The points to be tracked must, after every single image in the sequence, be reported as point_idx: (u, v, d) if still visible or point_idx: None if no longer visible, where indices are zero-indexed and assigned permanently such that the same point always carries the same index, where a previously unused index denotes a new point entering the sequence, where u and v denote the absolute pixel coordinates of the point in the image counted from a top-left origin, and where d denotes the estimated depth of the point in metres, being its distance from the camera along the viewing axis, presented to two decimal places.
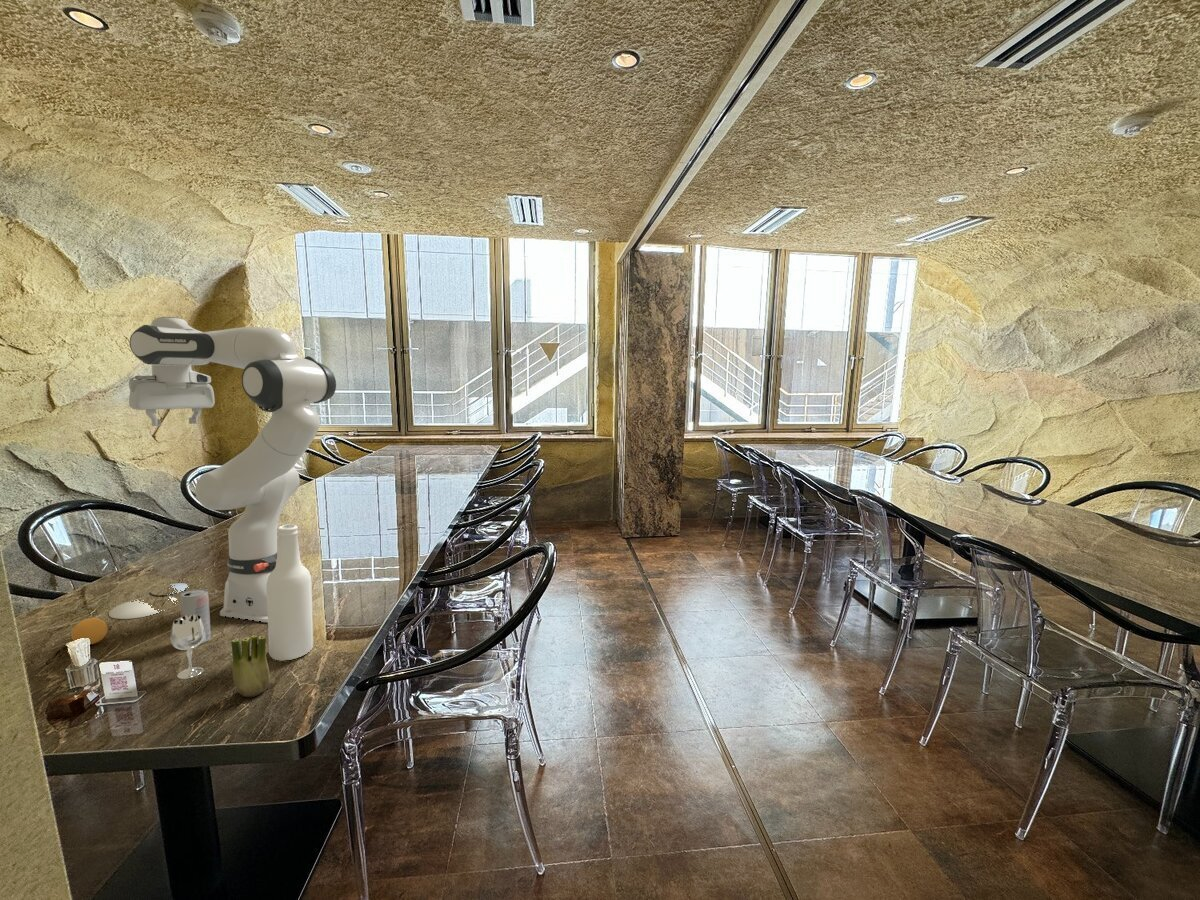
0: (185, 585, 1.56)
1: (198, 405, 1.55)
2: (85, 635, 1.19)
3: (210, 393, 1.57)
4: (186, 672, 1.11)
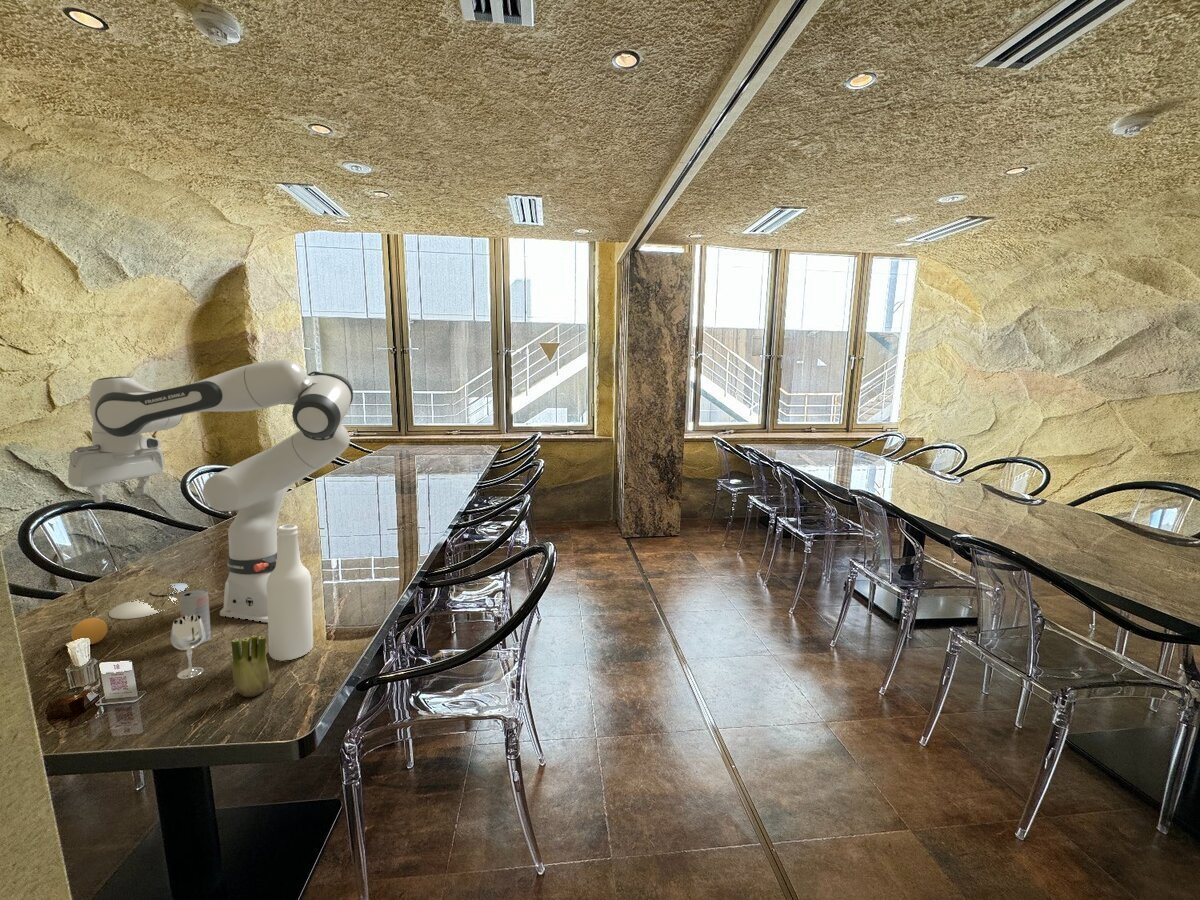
0: (185, 585, 1.56)
1: (147, 473, 1.36)
2: (85, 635, 1.19)
3: (160, 458, 1.38)
4: (186, 672, 1.11)
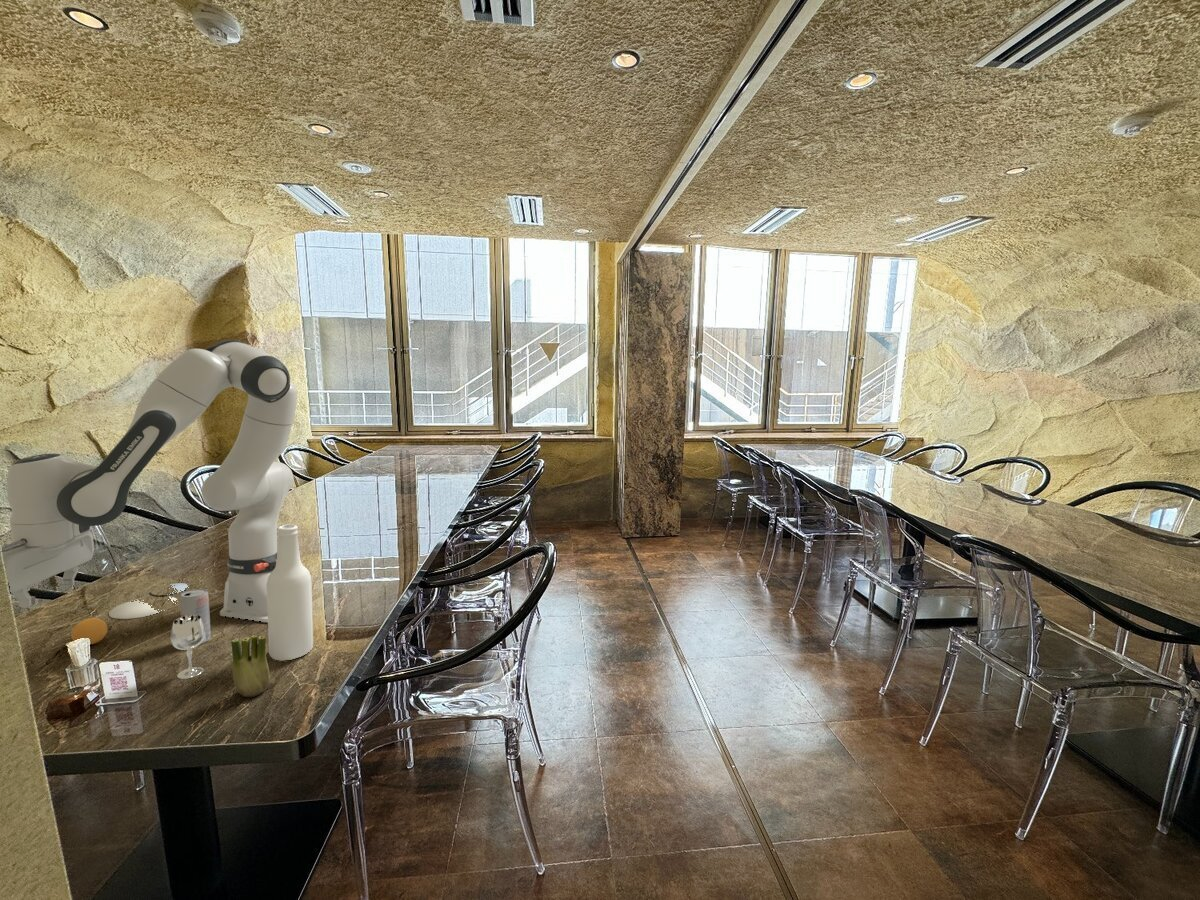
0: (185, 585, 1.56)
1: (77, 562, 1.15)
2: (85, 635, 1.19)
3: (90, 542, 1.18)
4: (186, 672, 1.11)
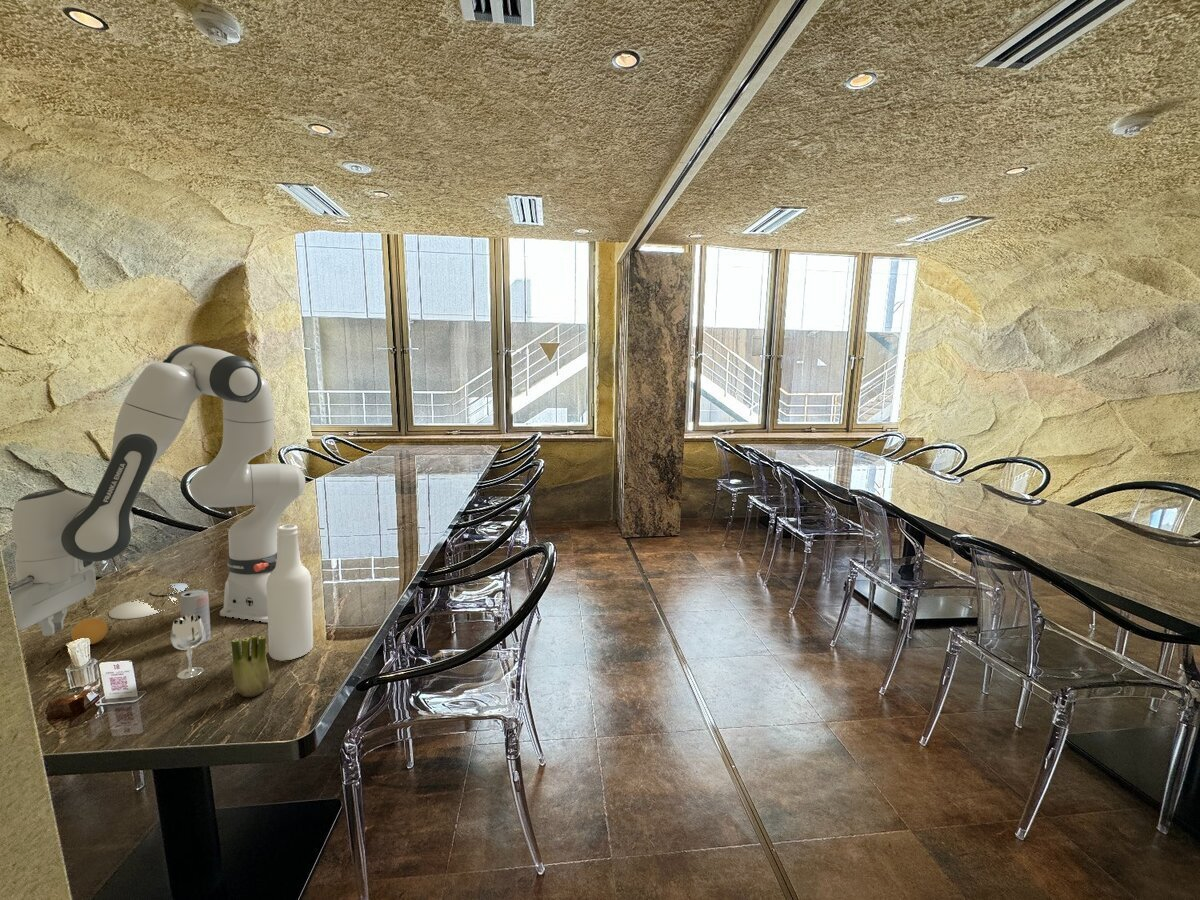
0: (185, 585, 1.56)
1: (80, 597, 1.15)
2: (85, 635, 1.19)
3: (92, 576, 1.18)
4: (186, 672, 1.11)
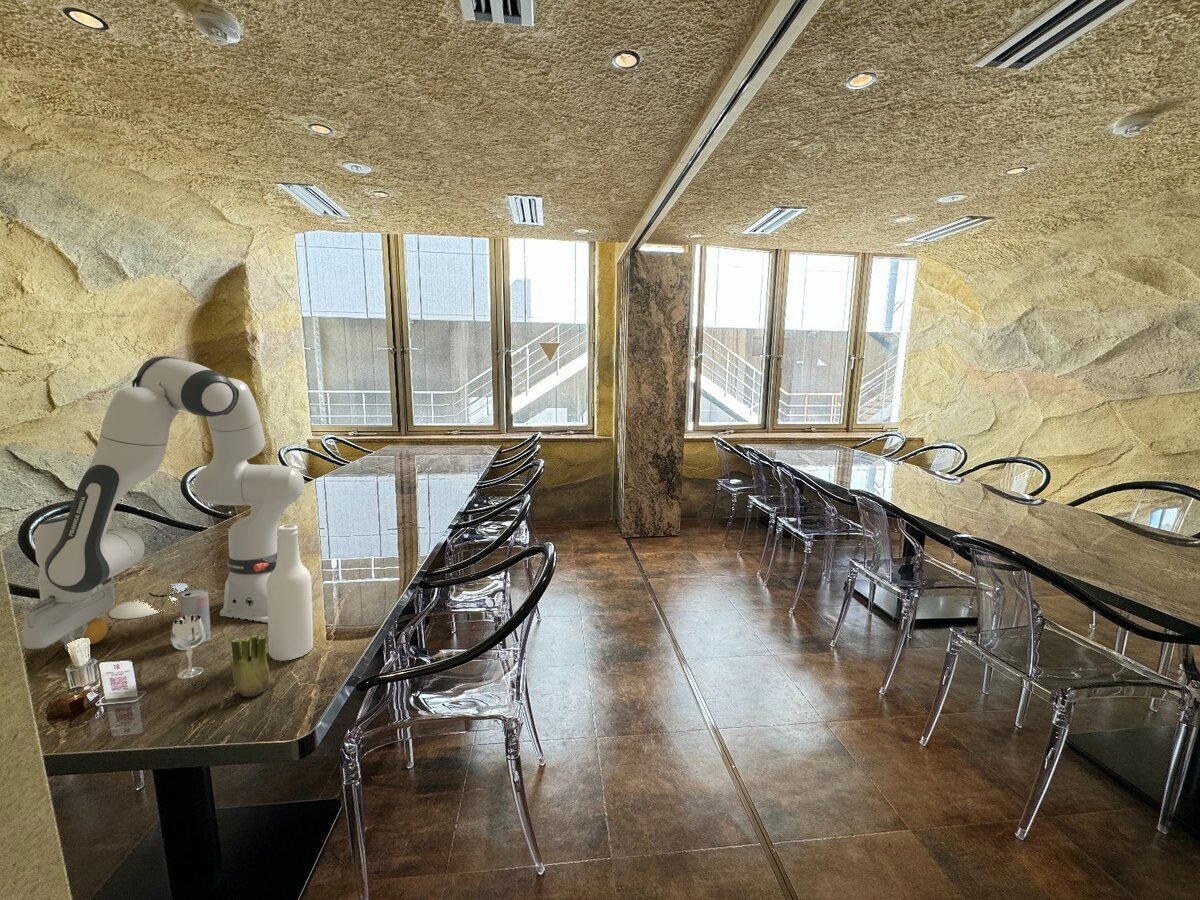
0: (185, 585, 1.56)
1: (100, 612, 1.22)
2: (85, 635, 1.19)
3: (111, 592, 1.25)
4: (186, 672, 1.11)
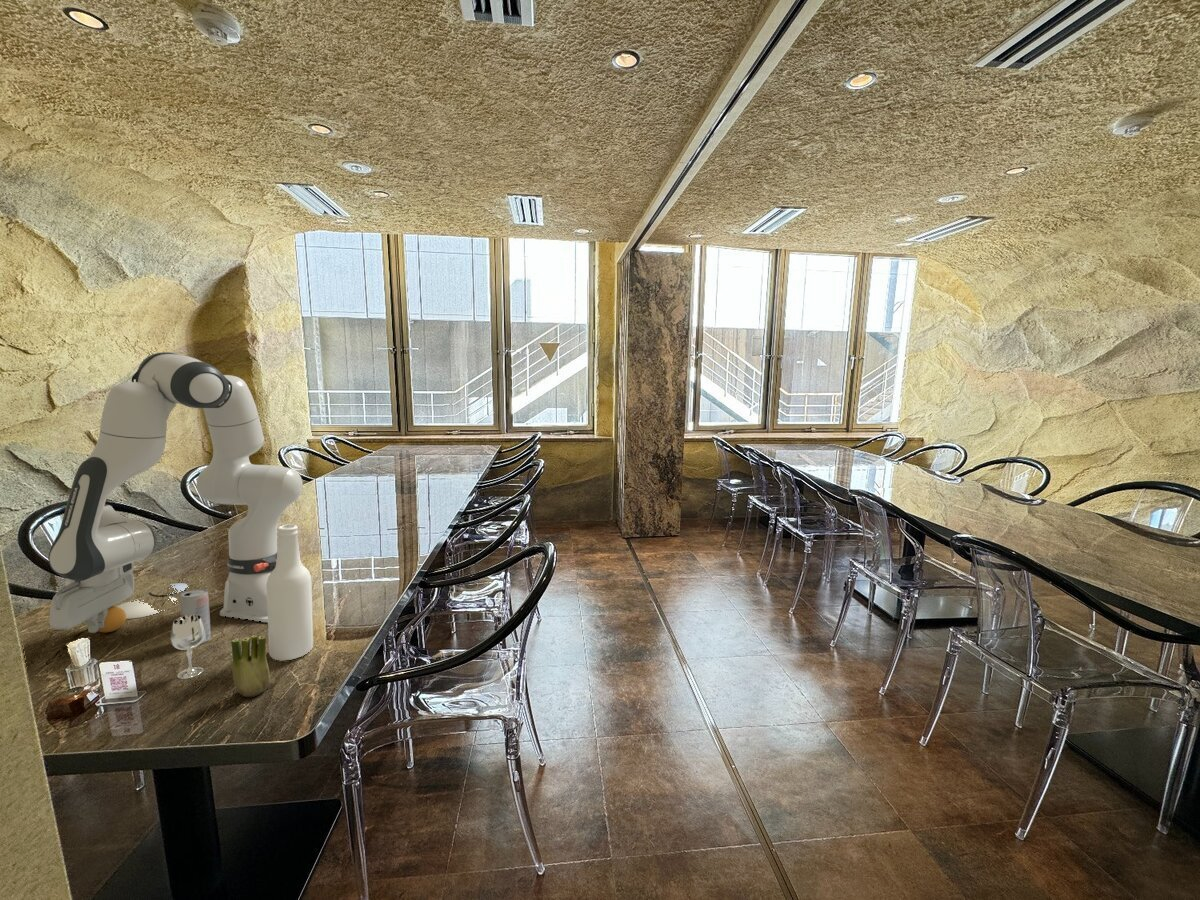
0: (185, 585, 1.56)
1: (120, 598, 1.29)
2: (105, 620, 1.25)
3: (131, 580, 1.32)
4: (186, 672, 1.11)
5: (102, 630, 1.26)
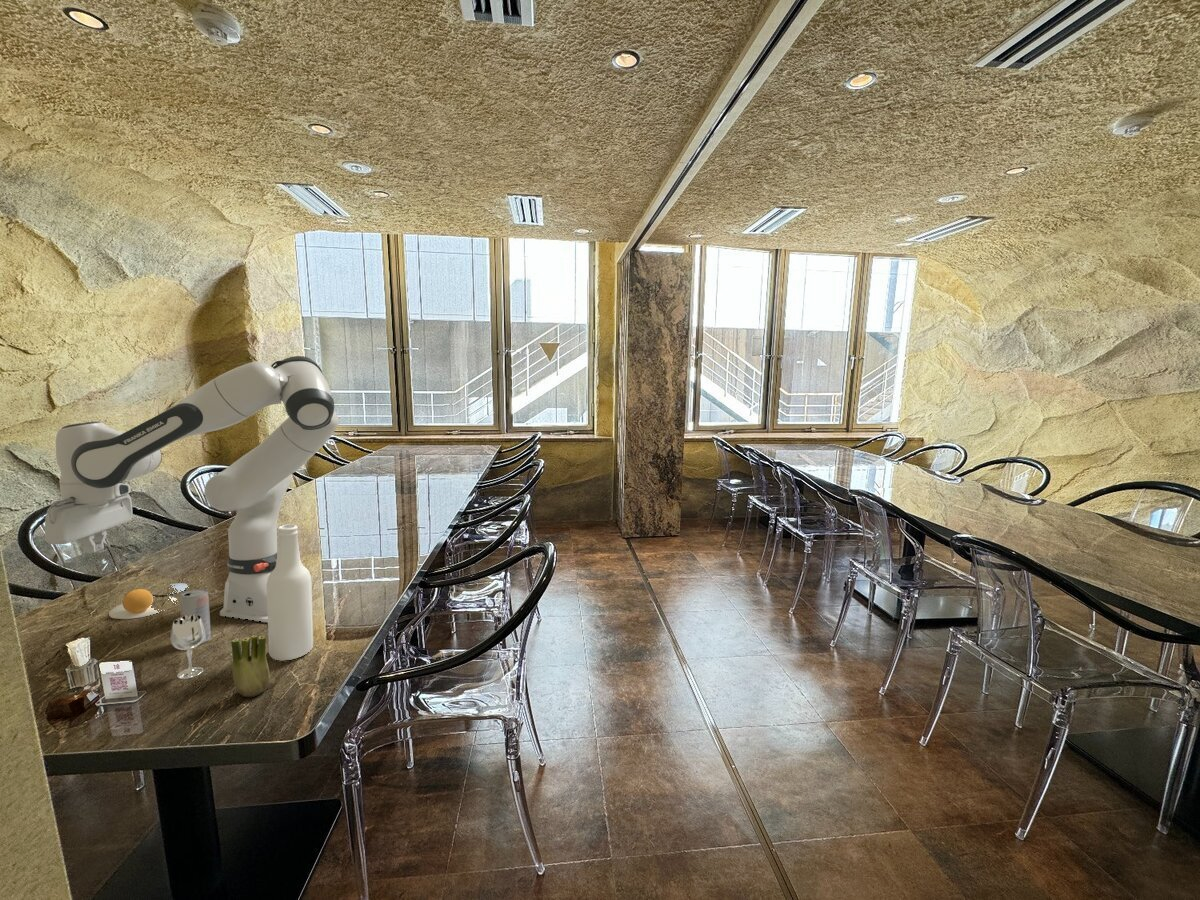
0: (185, 585, 1.56)
1: (118, 522, 1.27)
2: None
3: (129, 504, 1.30)
4: (186, 672, 1.11)
5: None
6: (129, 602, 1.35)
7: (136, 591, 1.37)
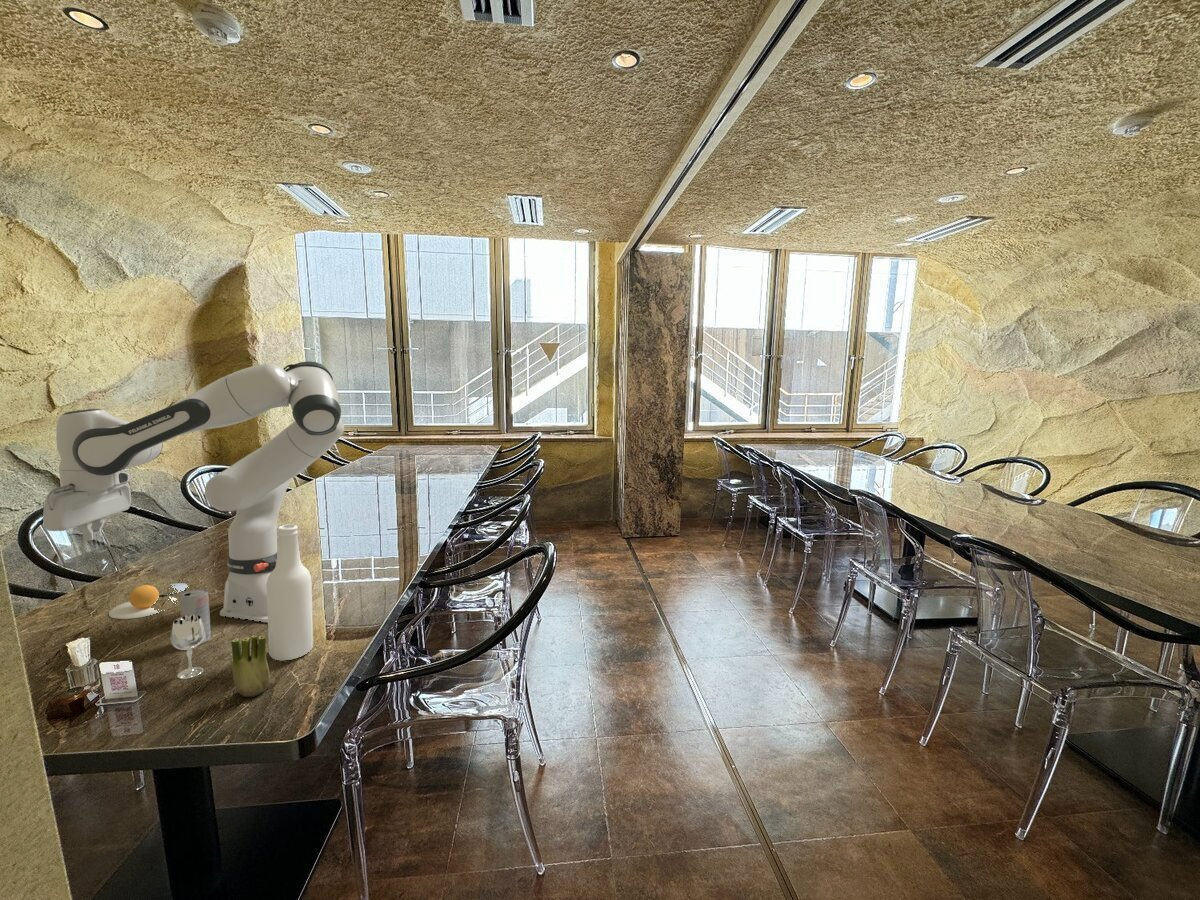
0: (185, 585, 1.56)
1: (117, 510, 1.27)
2: None
3: (128, 493, 1.29)
4: (186, 672, 1.11)
5: None
6: (139, 588, 1.39)
7: None
